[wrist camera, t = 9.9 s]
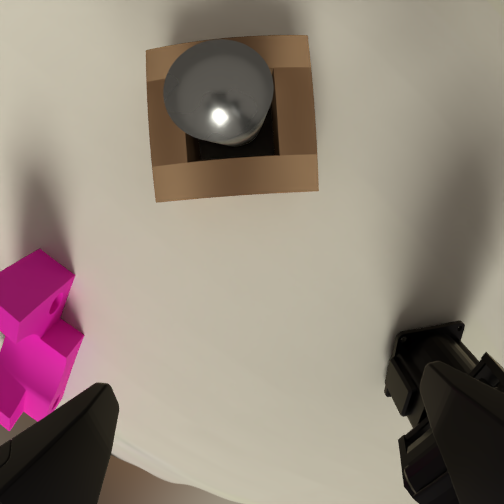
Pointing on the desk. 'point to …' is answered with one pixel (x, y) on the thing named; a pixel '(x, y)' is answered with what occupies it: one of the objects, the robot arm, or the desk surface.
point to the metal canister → (219, 92)
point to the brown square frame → (248, 167)
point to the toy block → (34, 337)
